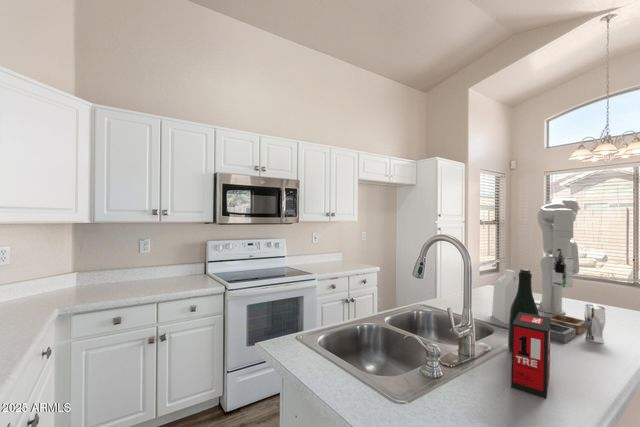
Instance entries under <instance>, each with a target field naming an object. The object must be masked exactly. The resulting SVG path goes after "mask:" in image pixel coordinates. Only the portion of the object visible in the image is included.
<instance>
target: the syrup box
mask: <svg viewBox="0 0 640 427" xmlns="http://www.w3.org/2000/svg"><path fill="white" fill-rule="evenodd" d="M559 258H562V257H559ZM555 261H556V260H555V258H553V280H552V285H554V286H559V287H562V288H566V289H567V288H572V287H573V281H574V280H573V279H574V278H573V276H574V275H573V257H570V256H567V257H566V258H565V259H564V262H563V265H564V273H556V272H555Z"/></svg>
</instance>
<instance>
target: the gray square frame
mask: <svg viewBox="0 0 640 427" xmlns="http://www.w3.org/2000/svg"><path fill="white" fill-rule="evenodd" d="M573 339H576V335H575V329H574V328H570V327H567V326H563V325H559V324H555V323H551V326H550V341H552V342H553V341H554V342H556V343H560V344H564V345H565V344H567V343H569V342H571V341H572V340H573Z"/></svg>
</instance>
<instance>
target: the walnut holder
mask: <svg viewBox="0 0 640 427" xmlns="http://www.w3.org/2000/svg"><path fill="white" fill-rule="evenodd" d="M547 317H551V323H555V324H559V325H563V326H567V327H570V328H574V329H575V336H577V337H578V336H581V335H582V334H584V333H587V328H586V323H585V319H581V318H577V317H571V316H567V315H565V314H563V315H560V314H550V315H549V316H547Z"/></svg>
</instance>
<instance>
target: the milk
mask: <svg viewBox="0 0 640 427" xmlns="http://www.w3.org/2000/svg"><path fill="white" fill-rule="evenodd" d="M518 283H519V277H518V278H517V275H516V271H515V270H512V269H505V270H504V274H502V275H501V276H500V277H499V278H498V279H496V280H495V281H494V283H493V284H494V285H493V297H492V298H493V299H492V309H491V311H492V313H491V316H492V317H493V318H495V319H496V320H498V321H499V322H502V323H503V324H504V325H509V315H510V308H511V305H512V303H513V301H514V299H515V297H516V294H517V291H518Z"/></svg>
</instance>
